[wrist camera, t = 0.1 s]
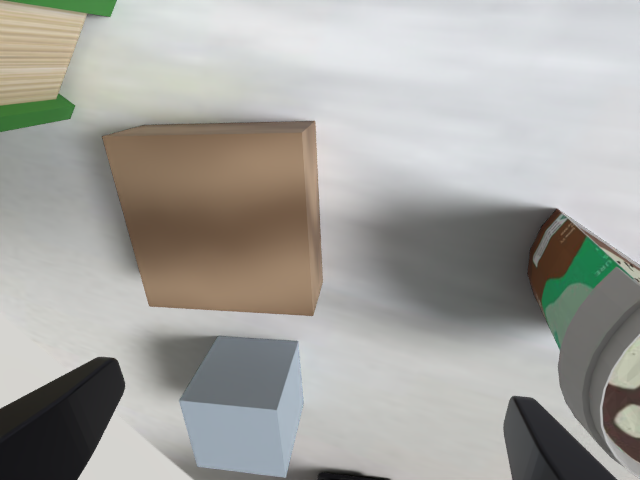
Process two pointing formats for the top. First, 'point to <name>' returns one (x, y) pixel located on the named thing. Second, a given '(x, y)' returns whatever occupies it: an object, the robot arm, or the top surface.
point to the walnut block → (222, 214)
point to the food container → (593, 331)
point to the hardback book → (39, 57)
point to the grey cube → (245, 405)
